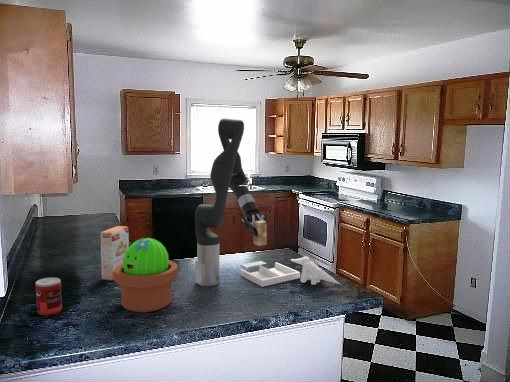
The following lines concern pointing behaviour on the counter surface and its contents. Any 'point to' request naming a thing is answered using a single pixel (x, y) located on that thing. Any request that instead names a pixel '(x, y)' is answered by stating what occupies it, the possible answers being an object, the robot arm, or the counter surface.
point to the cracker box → (113, 249)
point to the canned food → (48, 296)
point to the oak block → (260, 233)
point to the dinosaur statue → (312, 271)
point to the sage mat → (253, 264)
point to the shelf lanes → (271, 275)
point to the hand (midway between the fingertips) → (261, 234)
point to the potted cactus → (146, 276)
